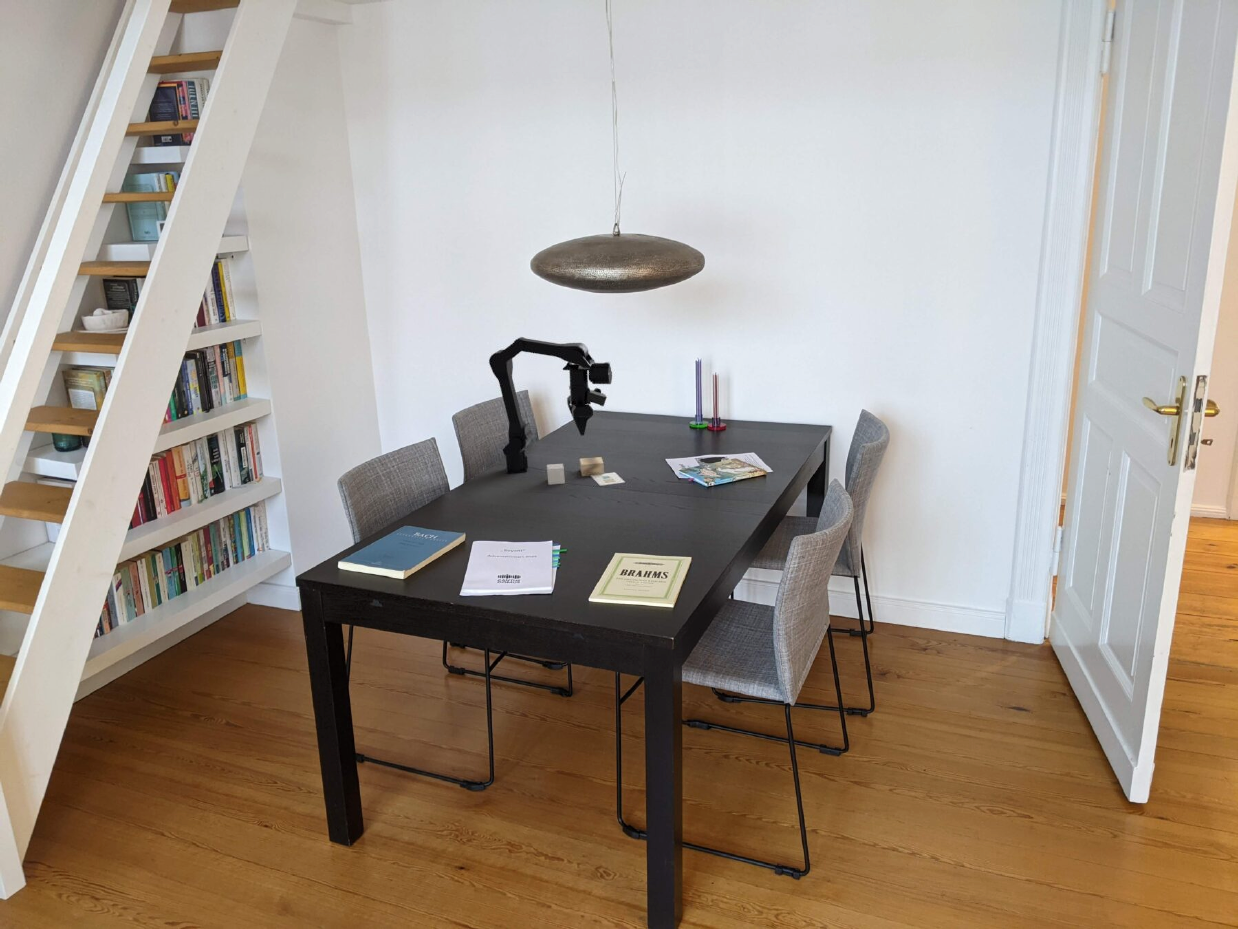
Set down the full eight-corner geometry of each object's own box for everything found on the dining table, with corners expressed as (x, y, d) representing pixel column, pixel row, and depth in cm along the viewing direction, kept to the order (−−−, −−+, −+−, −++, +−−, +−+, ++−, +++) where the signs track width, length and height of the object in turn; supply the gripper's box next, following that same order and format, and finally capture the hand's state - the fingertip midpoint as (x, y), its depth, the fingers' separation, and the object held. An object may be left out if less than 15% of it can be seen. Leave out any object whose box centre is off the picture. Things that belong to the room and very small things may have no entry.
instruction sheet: (600, 485, 290) (600, 485, 290) (590, 476, 300) (590, 475, 300) (625, 482, 292) (625, 481, 292) (614, 472, 302) (614, 472, 302)
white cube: (548, 484, 294) (547, 469, 292) (547, 480, 298) (546, 464, 297) (564, 483, 294) (563, 468, 293) (563, 478, 299) (562, 463, 298)
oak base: (582, 476, 301) (581, 464, 300) (580, 470, 307) (579, 458, 306) (604, 475, 301) (603, 463, 300) (601, 468, 308) (601, 457, 307)
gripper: (608, 388, 290) (609, 437, 295) (600, 376, 308) (601, 423, 313) (572, 390, 289) (574, 439, 293) (566, 378, 306) (567, 425, 311)
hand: (580, 431), depth 303 cm, fingers open, 9 cm apart
